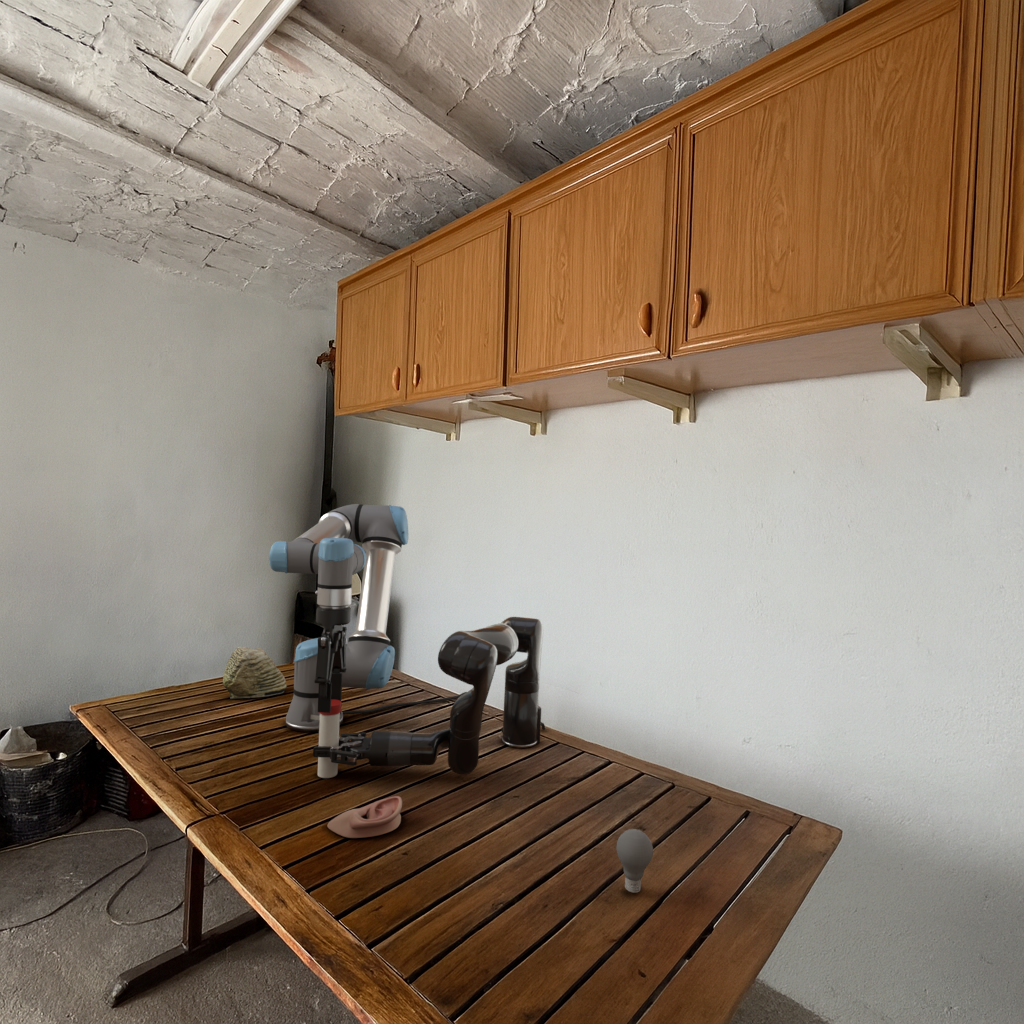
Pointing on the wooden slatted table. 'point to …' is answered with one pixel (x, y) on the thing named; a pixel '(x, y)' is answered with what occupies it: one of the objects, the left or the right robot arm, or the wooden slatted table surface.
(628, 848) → the light bulb
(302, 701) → the left robot arm
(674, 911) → the wooden slatted table surface
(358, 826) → the anatomical model
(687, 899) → the wooden slatted table surface
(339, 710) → the lid
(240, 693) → the fossil
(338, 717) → the white bottle
